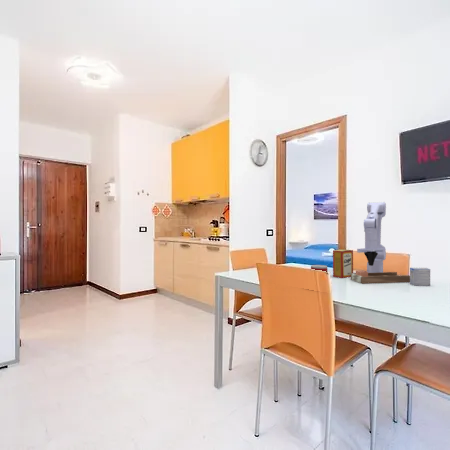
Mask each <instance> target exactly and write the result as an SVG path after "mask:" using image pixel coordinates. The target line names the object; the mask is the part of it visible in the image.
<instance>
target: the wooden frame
mask: <svg viewBox="0 0 450 450" xmlns="http://www.w3.org/2000/svg"><path fill="white" fill-rule="evenodd" d="M350 280H351V281H353V280H354V282H356V283H359V284H364V285H365V284H369V285H370V284H393V283H394V284H395V283H397V284H399V283H410V274H409V275H408V274H406V275H399V274H398V271H387V272H386V271H385V272H384V271H383V272H378V273H368V277H362V276H359V275H356V272H353V273H351V277H350Z"/></svg>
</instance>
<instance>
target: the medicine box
mask: <svg viewBox="0 0 450 450" xmlns="http://www.w3.org/2000/svg"><path fill="white" fill-rule="evenodd" d="M409 275H410V282H409V284H410V285H411V286H413V285H414V286H413V287H417V286H418V287H419V286H420V287H421V286H422V287H424V286H426V287H427V286H429V287H431V269H430V268H429V267H410V268H409Z"/></svg>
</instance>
